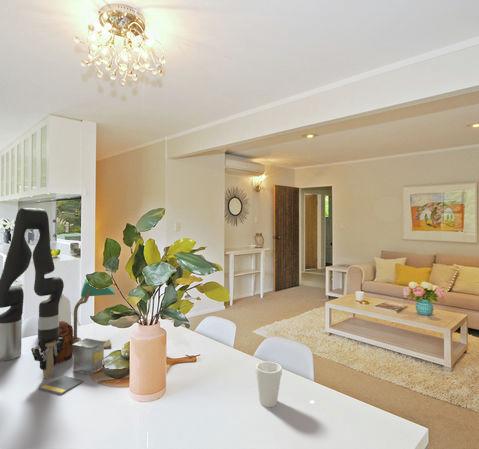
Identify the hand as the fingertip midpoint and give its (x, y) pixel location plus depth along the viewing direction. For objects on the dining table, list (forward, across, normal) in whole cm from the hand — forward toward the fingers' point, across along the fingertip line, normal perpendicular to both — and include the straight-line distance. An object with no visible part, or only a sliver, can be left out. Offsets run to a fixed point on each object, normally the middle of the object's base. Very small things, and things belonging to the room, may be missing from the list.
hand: (48, 366), depth 134 cm
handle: (+4, 0, 0) cm, 4 cm away
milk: (+5, -38, -40) cm, 55 cm away
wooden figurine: (+4, -14, -9) cm, 17 cm away
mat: (+4, +3, +11) cm, 12 cm away
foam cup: (+4, -15, +90) cm, 91 cm away
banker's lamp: (+4, -31, -7) cm, 32 cm away
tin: (+4, -12, +10) cm, 16 cm away
